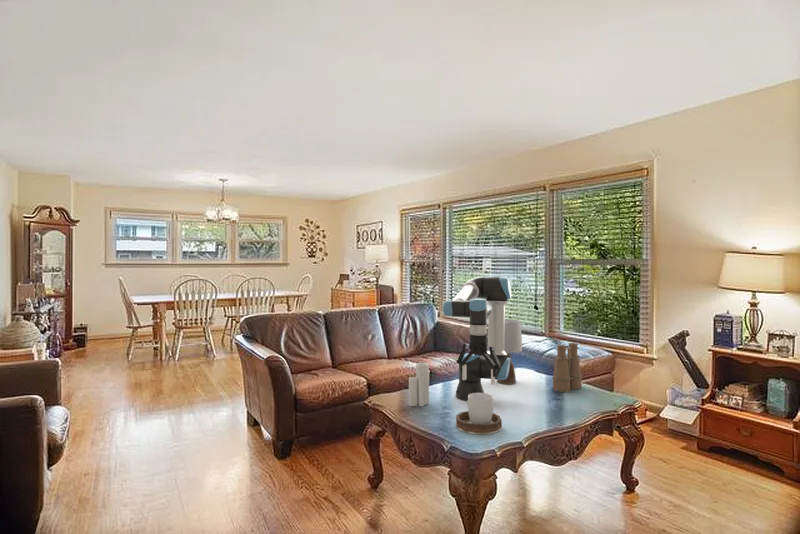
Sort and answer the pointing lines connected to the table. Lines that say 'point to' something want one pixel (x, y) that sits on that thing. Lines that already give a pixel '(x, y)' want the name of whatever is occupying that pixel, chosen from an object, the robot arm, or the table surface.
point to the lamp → (512, 346)
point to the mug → (480, 408)
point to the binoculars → (567, 369)
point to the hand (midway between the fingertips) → (478, 381)
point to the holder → (466, 425)
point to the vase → (419, 386)
